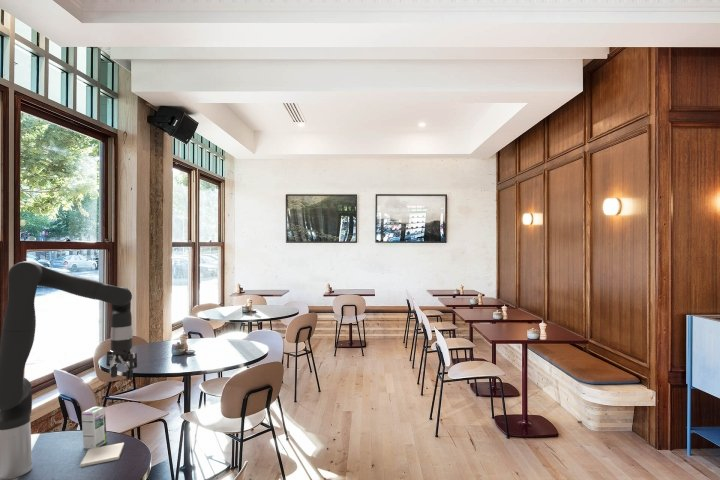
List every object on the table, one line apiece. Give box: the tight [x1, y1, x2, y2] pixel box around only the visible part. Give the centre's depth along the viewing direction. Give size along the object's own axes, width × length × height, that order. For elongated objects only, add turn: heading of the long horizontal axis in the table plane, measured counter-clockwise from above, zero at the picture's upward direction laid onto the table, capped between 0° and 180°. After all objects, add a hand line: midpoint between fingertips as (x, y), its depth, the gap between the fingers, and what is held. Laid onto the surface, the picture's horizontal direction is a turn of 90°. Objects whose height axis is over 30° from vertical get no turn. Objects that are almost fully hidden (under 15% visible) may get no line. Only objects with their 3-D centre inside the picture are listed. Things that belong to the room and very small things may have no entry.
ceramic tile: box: [80, 442, 125, 468], centre depth 155 cm, size 12×12×1 cm
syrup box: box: [81, 406, 108, 450], centre depth 164 cm, size 6×6×14 cm
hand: (121, 378), depth 163 cm, fingers open, 8 cm apart
